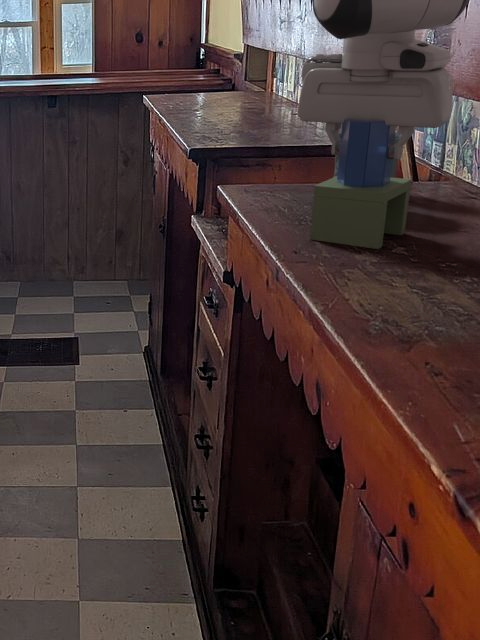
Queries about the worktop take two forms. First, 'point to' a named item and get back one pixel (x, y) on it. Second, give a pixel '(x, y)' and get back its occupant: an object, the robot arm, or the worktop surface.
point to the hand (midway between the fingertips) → (365, 156)
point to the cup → (365, 153)
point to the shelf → (359, 212)
